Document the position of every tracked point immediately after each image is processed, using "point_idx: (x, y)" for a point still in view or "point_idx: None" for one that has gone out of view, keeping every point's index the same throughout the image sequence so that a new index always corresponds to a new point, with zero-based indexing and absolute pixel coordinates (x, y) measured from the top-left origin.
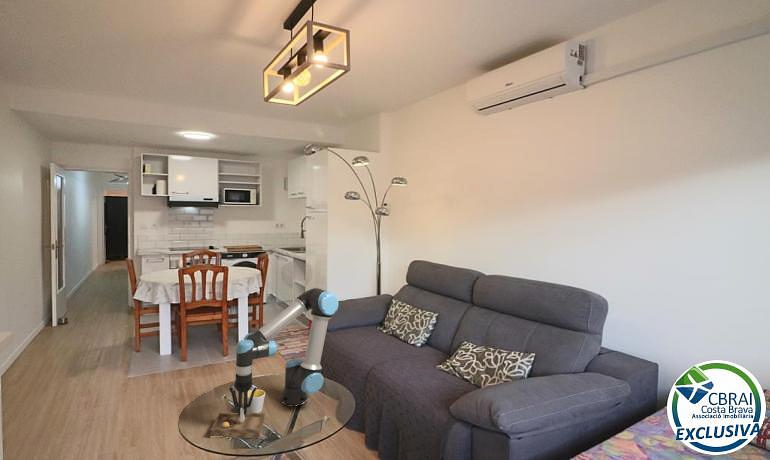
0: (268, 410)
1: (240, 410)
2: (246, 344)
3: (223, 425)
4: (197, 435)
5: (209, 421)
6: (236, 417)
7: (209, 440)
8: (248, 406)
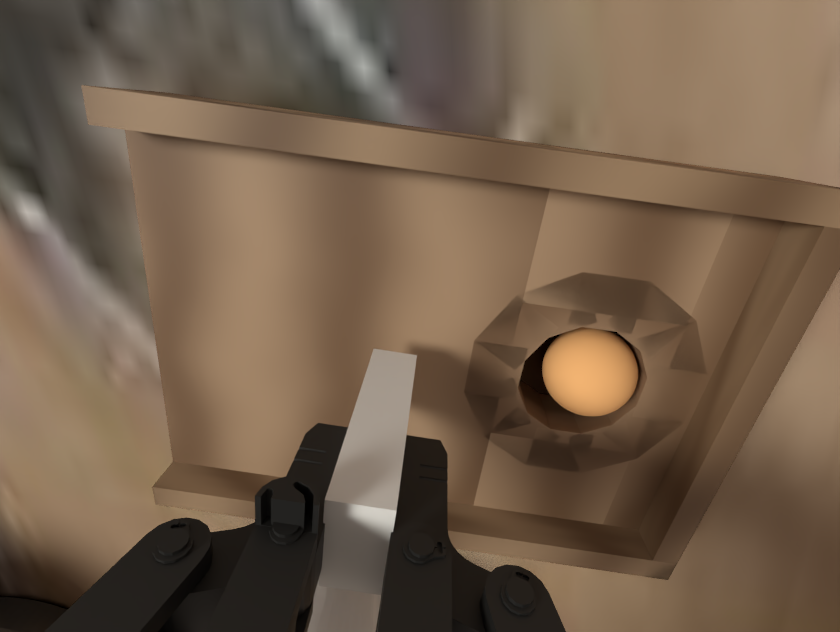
0: None
1: (397, 481)
2: None
3: (625, 355)
4: None
5: (723, 510)
6: (470, 495)
7: (793, 120)
8: (184, 535)
